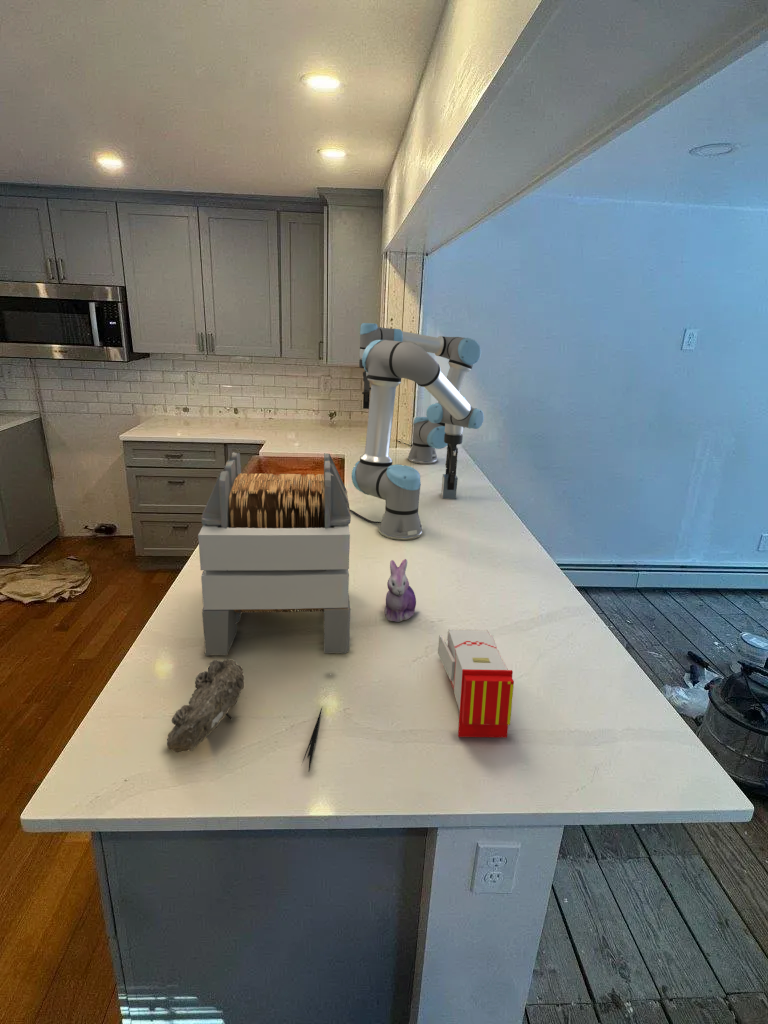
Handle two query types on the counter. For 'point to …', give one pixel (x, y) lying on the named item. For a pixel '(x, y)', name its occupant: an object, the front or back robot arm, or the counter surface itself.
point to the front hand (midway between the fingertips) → (449, 486)
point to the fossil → (206, 705)
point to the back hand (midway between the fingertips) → (366, 406)
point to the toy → (478, 682)
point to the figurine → (399, 594)
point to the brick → (448, 493)
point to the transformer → (275, 551)
